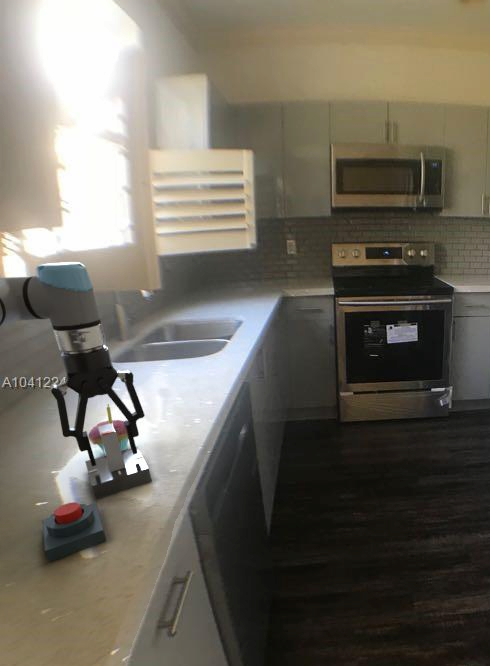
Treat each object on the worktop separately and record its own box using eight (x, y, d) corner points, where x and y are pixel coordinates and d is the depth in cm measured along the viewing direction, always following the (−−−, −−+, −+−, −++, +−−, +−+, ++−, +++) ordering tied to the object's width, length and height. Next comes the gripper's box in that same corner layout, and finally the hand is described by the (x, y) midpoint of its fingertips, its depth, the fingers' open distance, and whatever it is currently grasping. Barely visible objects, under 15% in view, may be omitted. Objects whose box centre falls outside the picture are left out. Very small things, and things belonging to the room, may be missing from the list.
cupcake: (143, 445, 108) (132, 398, 103) (110, 462, 101) (96, 412, 96) (119, 439, 111) (106, 393, 107) (85, 455, 104) (70, 407, 100)
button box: (46, 530, 79) (39, 510, 78) (99, 512, 84) (93, 493, 82) (48, 562, 72) (41, 541, 70) (106, 540, 76) (100, 520, 75)
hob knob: (107, 461, 95) (97, 425, 92) (121, 457, 96) (111, 421, 94) (111, 472, 91) (100, 435, 88) (125, 467, 92) (115, 431, 89)
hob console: (88, 473, 97) (84, 460, 95) (140, 458, 102) (137, 445, 101) (95, 499, 87) (91, 485, 86) (152, 481, 93) (148, 467, 92)
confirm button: (56, 516, 77) (53, 507, 76) (81, 508, 79) (78, 499, 78) (57, 527, 74) (54, 518, 73) (83, 518, 76) (80, 509, 75)
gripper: (18, 364, 77) (57, 482, 85) (145, 342, 87) (169, 448, 96) (18, 354, 82) (55, 465, 91) (138, 335, 93) (161, 436, 101)
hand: (114, 456), depth 93 cm, fingers open, 7 cm apart
